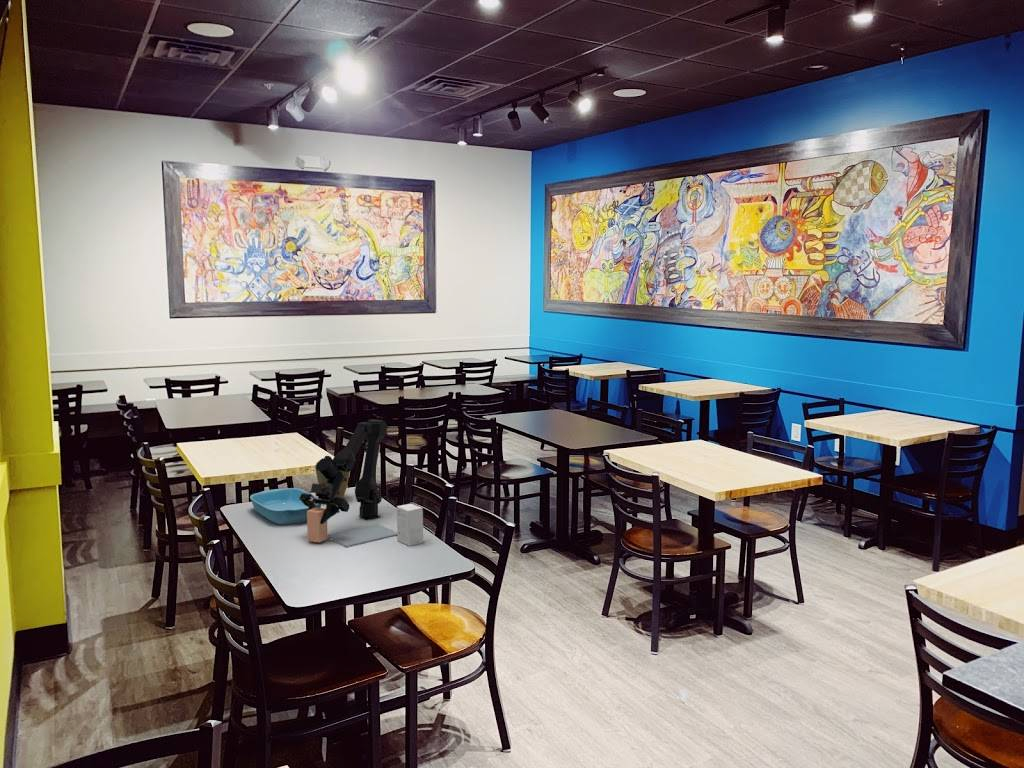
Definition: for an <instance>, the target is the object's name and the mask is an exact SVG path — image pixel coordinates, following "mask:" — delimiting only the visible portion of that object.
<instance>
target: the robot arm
mask: <svg viewBox="0 0 1024 768" xmlns="http://www.w3.org/2000/svg"><path fill="white" fill-rule="evenodd" d="M387 430H388V424H387V423H386V421H384V420H380V419H369V420H368V421H364V422H359V423H357V424H356V428H355V429H354V431H353V433H352V435H351V436H350V438H349V440H348V441H347V443H346V445H345V447H344V448H343V449H342V450H339V451H337V453H336V454H335V455H334V457H331V456H330V455H325V456H324V457H323V458H321V459H319V460H318V461H317V462H316V464H315V465H316V469H317V470H318V471H319V473H320V474H321V475H322V476H323V477H324V478H325V479H327V480H326V482H325V484H324V483H322V484H318V483H312V484H311V489H310V492H311V493H310V494H308V493H309V492H308V493H302V494H301V496H300V498H299V499H300V500H301V501H302V502H303V504H304V505H305V506H307V507H309V510H311V509H313V508H315V507H316V508H318V507H317V504H321V505H325V509H326V510H325V512H324V514H323V517H322V519H321V522H320V523H321V524H323V523H324V522H326V521H327V522H328V520H329V519H330V518H332V517H333V516H335V515H336V514H338V513H340V511H341V512H345V513H348V511H349V509H350V503H348V501H347V500H346V499H345V498H344V497H343V498H339V497H336V495H339V494H340V492H339V489H340V486H341V484H342V482H343V481H345V482H346V481H347V478H346V475H345V474H343V473H342V472H341V471H344V472H350V473H351V471H353V468H354V466H355V464H356V455H357V454H358V451H359V450H360V448H361V447H362V445H363V443H364V441H365V440H367V444H366V451H365V456H364V463H363V469H362V470H363V471H362V475H361V477H360V479H359V480H356V482H355V488H354V496H355V500H356V503H360V505H359V515H358V517H359V518H361V519H363V520H366V521H367V520H373V519H377V518H381V515H379V504H381V502H382V498H383V496H382V495H381V494H380V492H379V491H378V484H377V480H376V472H377V466H378V458H379V452H380V445H381V442H382V441H383V440H384V439H385V437H386V435H387ZM316 469H315V470H316ZM312 493H313V494H314V496H315V497H317V498H314V496H313V494H312Z"/></svg>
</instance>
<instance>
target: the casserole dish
mask: <svg viewBox="0 0 1024 768" xmlns="http://www.w3.org/2000/svg"><path fill="white" fill-rule="evenodd" d="M302 493H308V494H311V493H310V492H308V491H306V490H304V489H301V488H297V487H296V488H295V487H291V488H289V487H288V488H275V489H267V490H263V491H260V492H257V493H256V492H255V493H253V494H251V495H250V497H249V499H250V500H251V503H252V506H253V508H254V510H255V511H256V512H257V513H258V514H259V515H261V516H263V517H264V518H265V519H267V520H268V521H270V522H272V523H274V524H276V523H277V525H289V524H295V523H296V524H297V523H301V522H305V521H306V522H307V511H308V510H309V507H307V506H305V505H304V504H303V502H302V501H301V500H300V499H299V498H300V496H301V494H302ZM312 495H313V494H312ZM313 496H314V498H318V496H316V495H315V494H314V495H313ZM283 503H285V504H283ZM317 507H318V508H322V504H317Z"/></svg>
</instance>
